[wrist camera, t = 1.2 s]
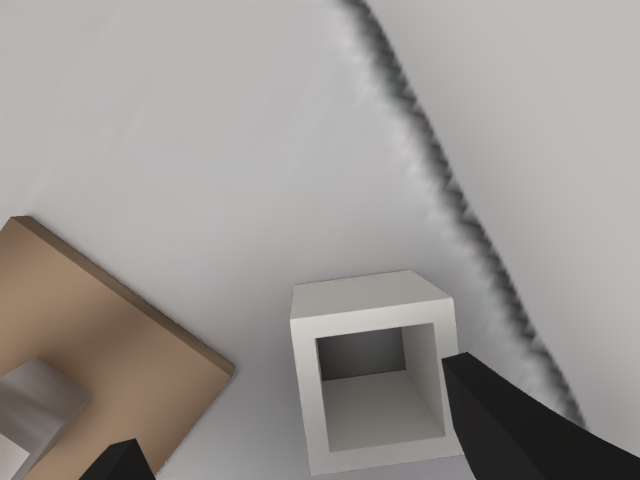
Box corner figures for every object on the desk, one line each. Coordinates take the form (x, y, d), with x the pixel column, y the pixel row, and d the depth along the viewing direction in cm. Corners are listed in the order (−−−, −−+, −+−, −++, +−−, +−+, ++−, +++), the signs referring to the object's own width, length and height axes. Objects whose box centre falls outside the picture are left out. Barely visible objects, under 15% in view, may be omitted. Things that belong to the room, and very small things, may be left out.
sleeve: (410, 269, 21) (453, 297, 15) (423, 382, 21) (469, 454, 15) (294, 284, 21) (289, 319, 15) (309, 398, 21) (310, 476, 15)
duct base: (235, 366, 21) (209, 429, 15) (90, 553, 21) (12, 681, 16) (28, 215, 20) (-81, 222, 14) (-118, 414, 21) (-279, 496, 15)
